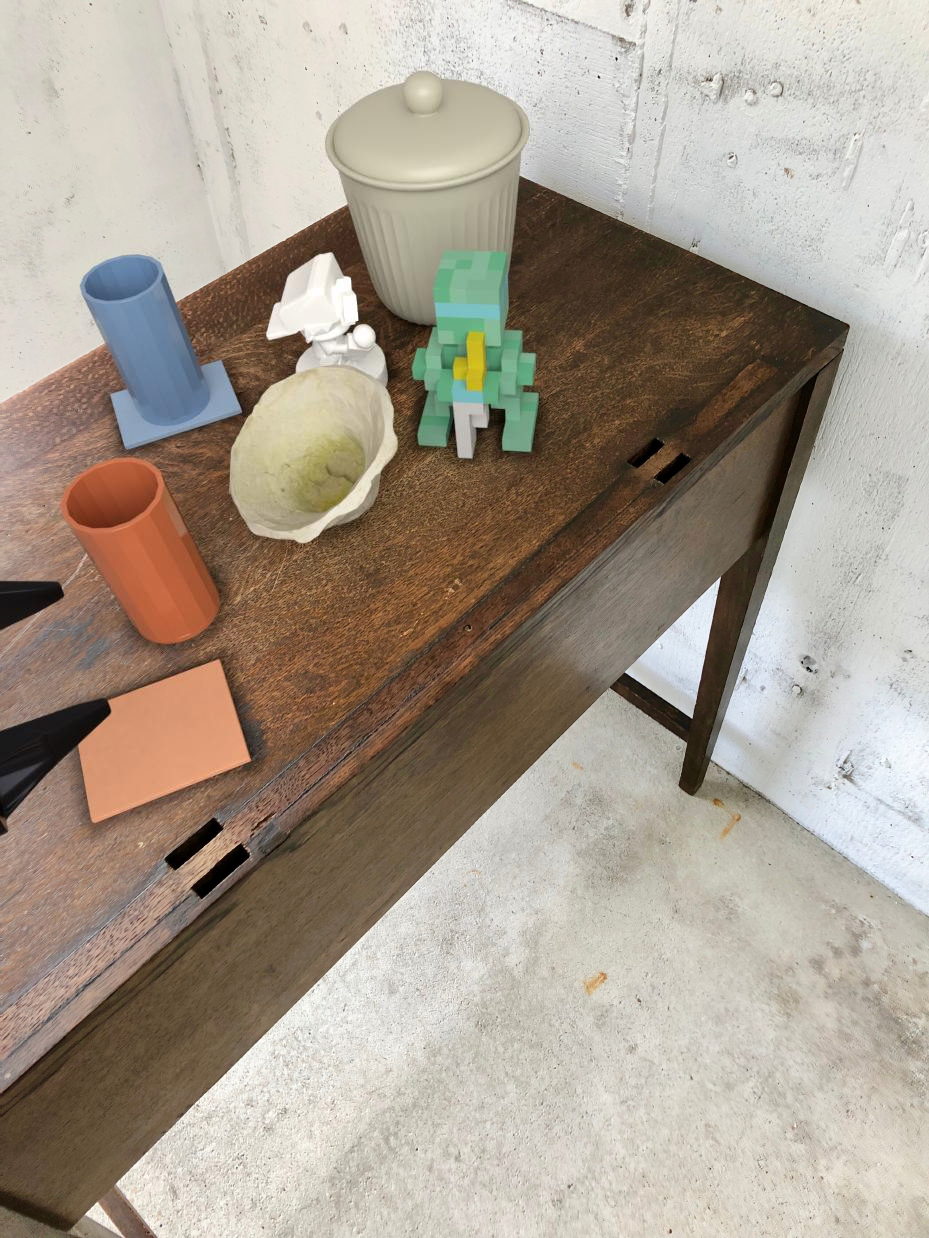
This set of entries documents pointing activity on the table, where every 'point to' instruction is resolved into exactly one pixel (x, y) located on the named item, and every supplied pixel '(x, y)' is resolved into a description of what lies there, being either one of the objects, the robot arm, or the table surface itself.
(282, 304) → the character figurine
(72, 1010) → the table surface
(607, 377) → the table surface
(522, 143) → the canister
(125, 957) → the table surface
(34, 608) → the robot arm
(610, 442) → the table surface
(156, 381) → the blue cup
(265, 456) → the bowl
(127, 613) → the terracotta cup
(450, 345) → the toy
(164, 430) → the blue mat
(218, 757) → the peach mat
